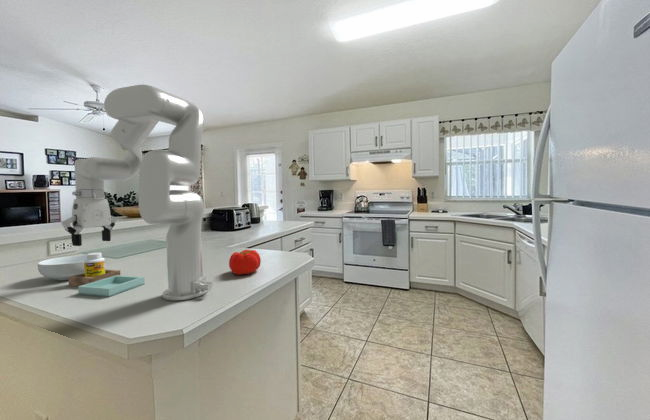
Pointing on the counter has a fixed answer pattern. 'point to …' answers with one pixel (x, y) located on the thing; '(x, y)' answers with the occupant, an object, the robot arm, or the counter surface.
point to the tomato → (244, 262)
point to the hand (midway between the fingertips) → (92, 243)
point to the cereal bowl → (62, 267)
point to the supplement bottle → (94, 265)
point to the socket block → (90, 278)
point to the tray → (110, 286)
